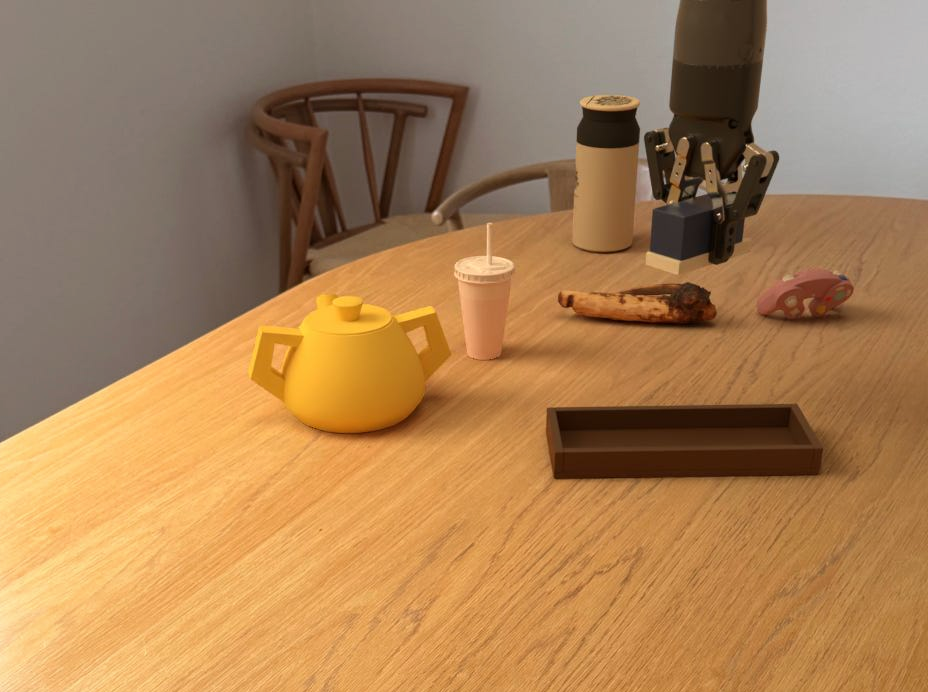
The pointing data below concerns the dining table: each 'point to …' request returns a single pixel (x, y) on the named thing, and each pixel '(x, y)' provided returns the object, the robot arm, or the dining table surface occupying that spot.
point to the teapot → (350, 364)
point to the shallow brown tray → (681, 441)
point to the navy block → (687, 236)
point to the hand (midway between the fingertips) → (699, 255)
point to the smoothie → (484, 300)
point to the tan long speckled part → (645, 304)
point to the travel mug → (606, 173)
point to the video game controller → (806, 293)
